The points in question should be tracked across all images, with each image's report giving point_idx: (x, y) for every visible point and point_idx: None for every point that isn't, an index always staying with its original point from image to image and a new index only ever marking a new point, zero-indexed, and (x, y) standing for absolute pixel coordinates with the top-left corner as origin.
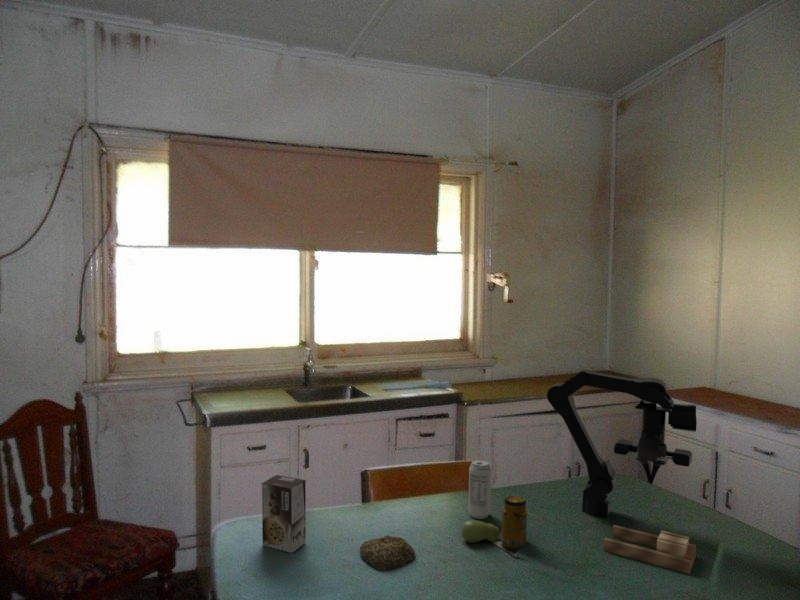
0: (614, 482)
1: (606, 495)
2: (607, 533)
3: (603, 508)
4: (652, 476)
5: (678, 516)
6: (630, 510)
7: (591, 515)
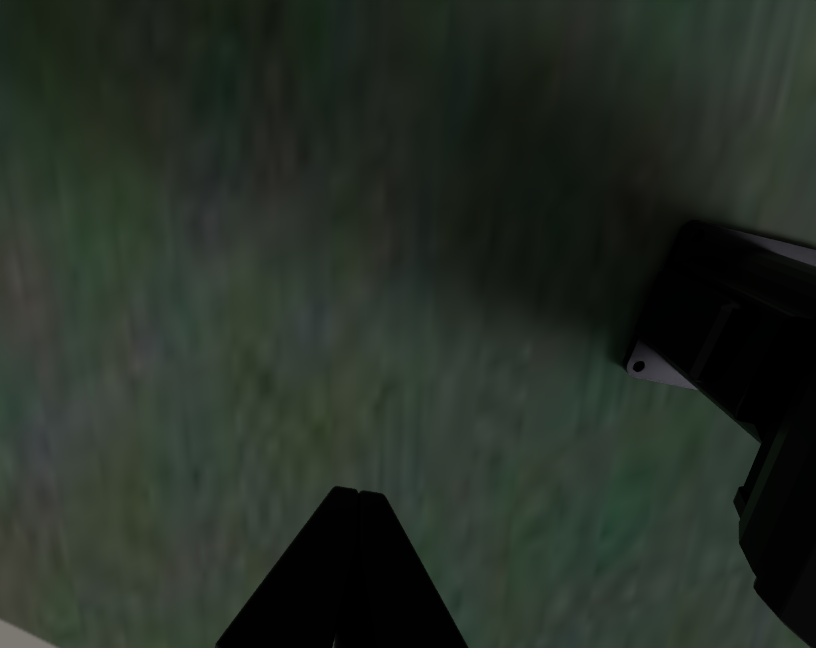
0: (806, 491)
1: (748, 414)
2: (682, 42)
3: (737, 287)
4: (316, 582)
5: (202, 508)
6: (477, 487)
7: (781, 255)
